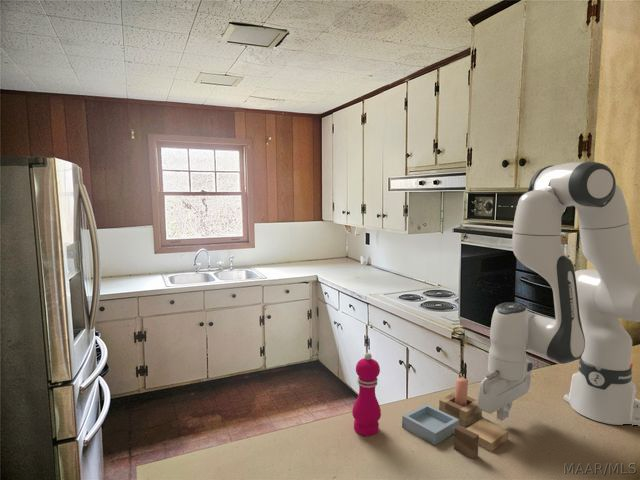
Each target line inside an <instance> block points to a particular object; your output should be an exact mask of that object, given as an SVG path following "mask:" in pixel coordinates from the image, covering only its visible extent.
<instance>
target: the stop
mask: <svg viewBox="0 0 640 480" xmlns="http://www.w3.org/2000/svg"><path fill="white" fill-rule="evenodd" d="M453 435H454V437H453V449H454V450H456V451H457V452H460V454H462V455H464V456H467V457H469V458H470V459H475V458H477V457H478V456H479V445H478V444H479V435H478V434H476V433H474V432H472V431H470V430H467V429H466V427H464V426H462V425H459V426H458V427H456V428H455V433H454V434H453Z"/></svg>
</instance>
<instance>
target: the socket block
mask: <svg viewBox="0 0 640 480" xmlns="http://www.w3.org/2000/svg"><path fill="white" fill-rule="evenodd" d="M455 393H456V391H454V392H453V393H450V394H448V395H446V396H444V397H443V398H439V402H438V403H439V405H438V410H440V411H442V412H444V413H447V414H449V415H451V416H453V417H455V418H457V419H459V425H460V426H462V427H465V426H466V427H467V426H468V425H469V426H470V424H472V423H474V422H475V421H477V420H479V419H481V417H482V416H483V411H482V410H480V409H479V408H478V406H477V402H478V399H475V398H473V397H470V396H468V395H467V405H466V406H465V407H462V406H460V405H458V404H456V403H455Z"/></svg>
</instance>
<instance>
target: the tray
mask: <svg viewBox="0 0 640 480" xmlns="http://www.w3.org/2000/svg"><path fill="white" fill-rule="evenodd" d="M401 420H402V421H401V427H402V428H403V429H405V430H406V431H408V432H409V433H410V432H411V433H412V434H414V435H416V436H418V437H419V438H421V439H423V440H425V441H426V442H427V443H430V444H432V445H434V446H436V445H438V444H439V443H441V442H442V441H444V440H445V439H447V437H448V438H449V437H451V436H453V435H454V433H455V428H456V427H458V426H460V424H459V419H457V418H455V417H453V416H451V415H449V414H447V413H444V412H442V411H440V410H439V408H435V407H434V406H432V405H430V404H428V403H425V404H424V405H421V406H419V407H418V408H415V409H414V410H411V411H409V412H407V413H406V414H403V415H402V419H401ZM452 434H453V435H452ZM450 435H451V436H450Z"/></svg>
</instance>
